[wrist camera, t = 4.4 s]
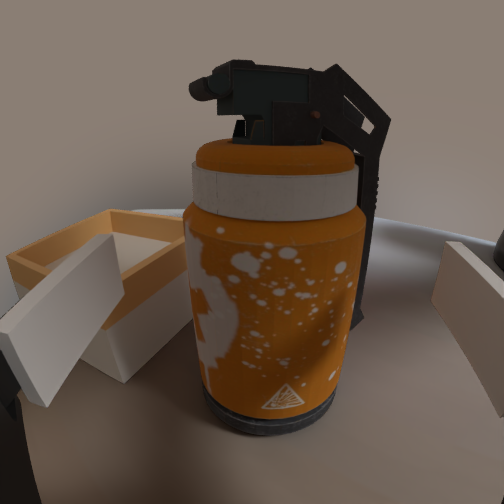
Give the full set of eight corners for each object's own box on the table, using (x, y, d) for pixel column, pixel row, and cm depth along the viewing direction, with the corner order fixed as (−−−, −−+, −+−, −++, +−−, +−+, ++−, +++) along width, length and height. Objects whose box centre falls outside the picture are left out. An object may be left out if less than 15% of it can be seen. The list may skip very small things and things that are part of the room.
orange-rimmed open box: (119, 266, 39) (110, 208, 36) (219, 292, 33) (215, 222, 30) (28, 323, 26) (5, 256, 23) (123, 384, 21) (96, 297, 18)
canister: (189, 366, 23) (161, 71, 15) (314, 329, 27) (330, 79, 19) (233, 460, 16) (209, 28, 8) (381, 395, 20) (441, 76, 12)
